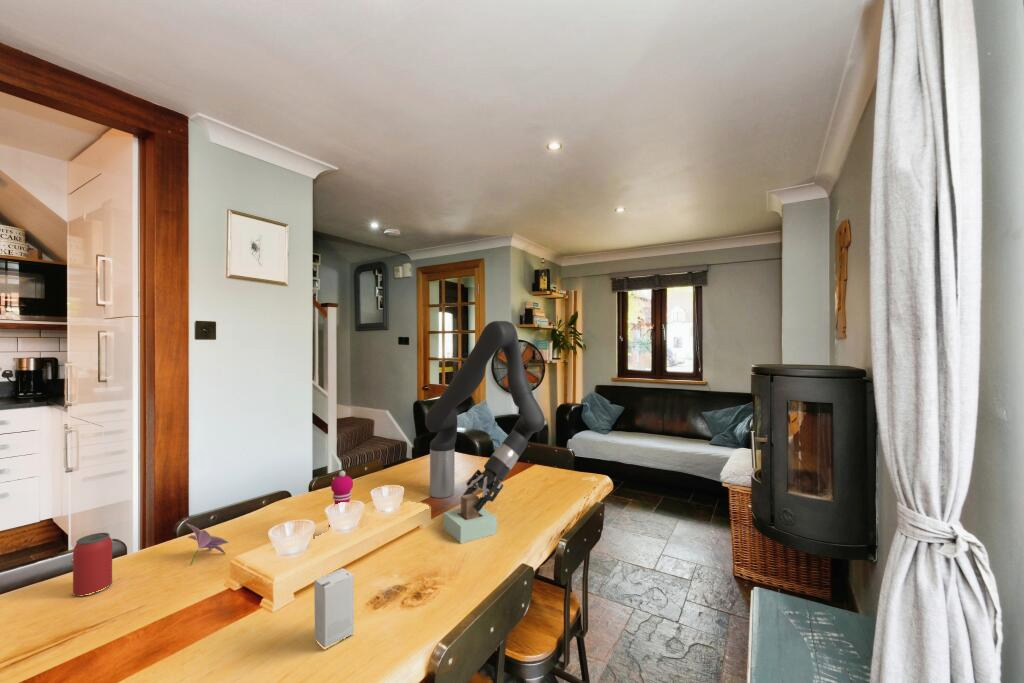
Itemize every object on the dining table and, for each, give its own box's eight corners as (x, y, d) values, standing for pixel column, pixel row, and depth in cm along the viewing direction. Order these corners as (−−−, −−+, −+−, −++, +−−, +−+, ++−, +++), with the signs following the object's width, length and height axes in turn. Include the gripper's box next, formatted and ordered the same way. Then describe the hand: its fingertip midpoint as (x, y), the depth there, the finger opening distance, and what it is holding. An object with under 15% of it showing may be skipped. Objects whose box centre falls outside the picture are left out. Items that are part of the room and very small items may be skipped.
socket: (443, 528, 133) (443, 512, 133) (478, 520, 140) (478, 504, 140) (460, 543, 123) (460, 526, 123) (496, 533, 130) (497, 517, 130)
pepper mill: (359, 534, 129) (359, 467, 129) (347, 545, 122) (348, 474, 122) (336, 533, 130) (336, 466, 130) (323, 544, 123) (323, 474, 123)
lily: (228, 567, 112) (241, 527, 117) (175, 564, 105) (192, 521, 110) (213, 567, 119) (227, 529, 124) (163, 564, 112) (179, 524, 117)
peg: (460, 528, 132) (460, 495, 132) (472, 525, 134) (472, 493, 134) (466, 533, 129) (467, 499, 129) (478, 530, 131) (478, 497, 131)
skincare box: (343, 626, 87) (343, 565, 87) (354, 635, 84) (355, 573, 84) (312, 642, 82) (313, 578, 83) (324, 653, 80) (324, 587, 80)
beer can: (118, 584, 102) (119, 533, 102) (83, 600, 96) (84, 546, 96) (101, 579, 104) (101, 529, 104) (65, 594, 98) (66, 541, 98)
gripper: (483, 450, 142) (451, 491, 136) (506, 460, 130) (472, 505, 124) (497, 463, 145) (466, 504, 139) (520, 474, 133) (488, 520, 127)
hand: (469, 505), depth 131 cm, fingers open, 8 cm apart
